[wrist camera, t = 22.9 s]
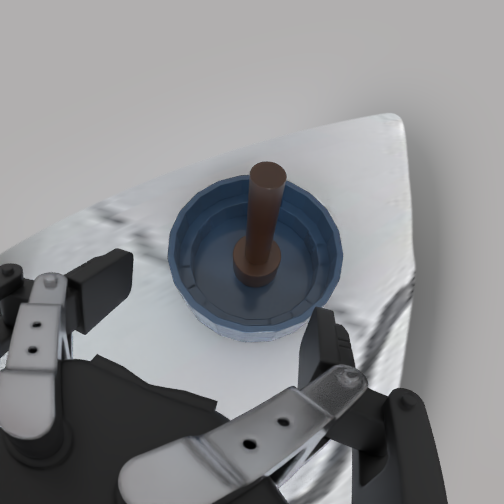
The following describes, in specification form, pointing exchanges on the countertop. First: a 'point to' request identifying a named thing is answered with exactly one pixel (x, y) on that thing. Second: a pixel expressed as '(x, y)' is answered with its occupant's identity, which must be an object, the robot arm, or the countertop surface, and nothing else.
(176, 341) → the countertop surface
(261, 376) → the countertop surface
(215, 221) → the mixing bowl
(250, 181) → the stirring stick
